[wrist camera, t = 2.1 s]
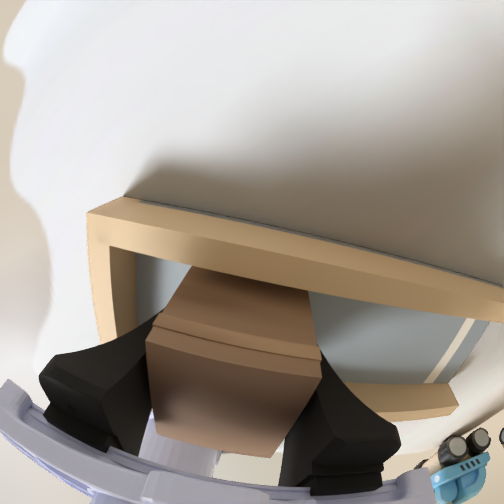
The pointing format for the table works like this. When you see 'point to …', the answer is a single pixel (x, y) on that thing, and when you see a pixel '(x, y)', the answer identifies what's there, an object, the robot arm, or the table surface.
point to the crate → (232, 362)
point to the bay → (319, 289)
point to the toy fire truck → (502, 437)
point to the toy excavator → (459, 467)
